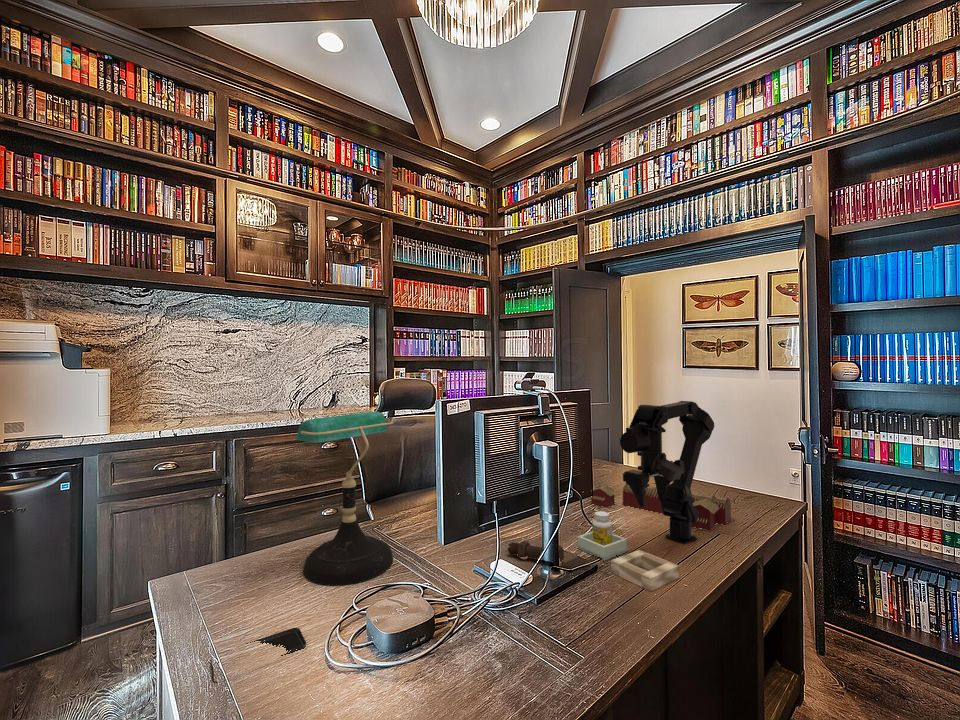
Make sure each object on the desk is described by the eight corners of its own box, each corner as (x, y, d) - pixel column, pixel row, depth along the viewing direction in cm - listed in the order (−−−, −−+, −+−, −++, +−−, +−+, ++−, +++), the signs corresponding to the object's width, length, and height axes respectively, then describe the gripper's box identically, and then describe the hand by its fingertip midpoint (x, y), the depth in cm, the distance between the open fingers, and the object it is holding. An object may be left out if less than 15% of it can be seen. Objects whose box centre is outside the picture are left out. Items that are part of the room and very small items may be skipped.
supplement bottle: (616, 547, 124) (615, 513, 124) (605, 553, 120) (604, 518, 121) (599, 541, 128) (599, 509, 128) (589, 547, 125) (588, 513, 125)
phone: (307, 646, 82) (214, 679, 73) (307, 652, 82) (214, 686, 73) (298, 625, 88) (211, 654, 80) (298, 631, 88) (211, 660, 80)
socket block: (639, 560, 117) (639, 549, 117) (679, 577, 108) (678, 565, 108) (611, 572, 111) (611, 560, 111) (651, 591, 101) (650, 578, 101)
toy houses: (732, 518, 150) (732, 488, 150) (718, 536, 134) (718, 503, 135) (608, 494, 179) (607, 469, 179) (585, 506, 164) (584, 479, 164)
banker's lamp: (360, 538, 134) (360, 408, 135) (415, 557, 121) (414, 412, 122) (278, 572, 113) (278, 417, 113) (334, 599, 99) (333, 423, 100)
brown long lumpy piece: (511, 560, 123) (562, 570, 115) (503, 557, 119) (556, 567, 112) (515, 538, 125) (565, 547, 118) (507, 535, 122) (559, 543, 114)
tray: (600, 540, 131) (600, 529, 131) (627, 551, 123) (627, 539, 123) (577, 548, 126) (577, 536, 126) (604, 560, 118) (604, 547, 118)
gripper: (656, 457, 113) (657, 518, 113) (696, 449, 123) (697, 505, 123) (621, 451, 122) (621, 507, 122) (660, 443, 132) (661, 495, 132)
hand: (652, 503), depth 124 cm, fingers open, 9 cm apart
